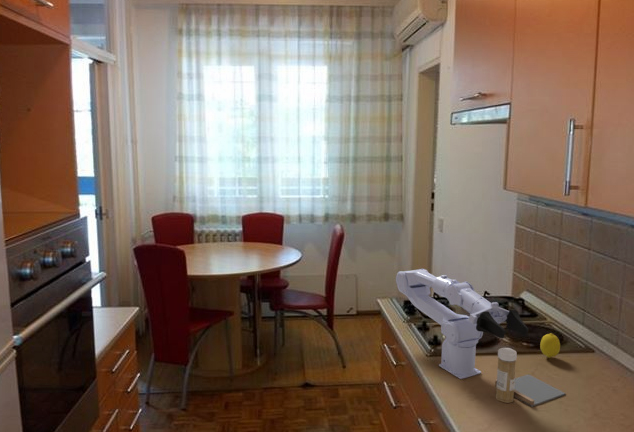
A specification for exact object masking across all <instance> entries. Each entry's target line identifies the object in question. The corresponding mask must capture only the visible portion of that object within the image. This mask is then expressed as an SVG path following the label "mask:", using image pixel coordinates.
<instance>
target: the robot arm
mask: <svg viewBox="0 0 634 432" xmlns="http://www.w3.org/2000/svg"><path fill="white" fill-rule="evenodd" d="M395 283H396V286H397V289H398V290H397V291H399V292H400V293H401V294H403V295H404V296H406V297H407V299H408V300H409V301H410V303H411V304H412V305H413V306H414V307H415V308H416V309H418V310H419V311H420V312H422V314H423V313H424V314H425V315H426V316H428V317H429V318H430V319H432V320H433V321H435V322H436V323H437V324H438V325H440V329H441V330H440V331H441V334H442V335H443V336H444V337H445V339H444V340H443V342H442V344H441V361H440V362H441V363H439V364H438V366H439V367H440V368H442V369H443V370H445V371H447V372H448V373H450V375H452V376H455V377H456V378H458V379H460V380H463V379H467V378H469V377H474V376H478V375H479V374H482V371H481V370H479V369H477V368H476V367H475V365H476V349H477V348H476V347H477V344H478V343H479V340H480V339H482V337H483V335H484V333H487V334H490V335H493V336H495V337H498V338H501V339H504V338H505V334H506V330H510V331H513V332H515V333H517V334H519V335H521V336H523V337H527V336H528V334H529V331H530V330H529V327H528V326H527V325H526V324H525V323H524V321H523V320H522V319H521V316H520V313H519V311H518V310H516V309H515V308H512V309H509V310H507V309H505V308H503V307H500V306H499V302H496V301H495V302H494V301H493V302H490V301H489V300H487V299H486V298H485V297H483V296H482V295H480V294H479V293H478V292H476V291H475V289H474V287H473V284H471V283H470V282H468V281H463V282H460V281H458V280H457V279H451V278H449V277H448V275H446V274H442V275H440V276H435V275H434V274H432V273H429V271H428V269H425V268H419V269H413V270H405V271H402V270H401V271H400V270H399V271H398V272H397V273H396V276H395ZM431 288H432V289H433V291H434V293H435V294H437V295H439V296H442V297H443V298H445V299H447V301H448V302H449V305H452V306H455V305H456V306H458V307H461V308H462V309H463V310H465V311H466V312H467V313H469V315H466V314H459V313H456V312H454V311H453V310H451V309H450V308H449V307H447V306H445V305H444V304H442V303H441V302H440V301H438V300H436V299H435V298H433V297H431V296H430V295H431ZM502 323H506V326H505V328H504V327H503V326H502V325H501V324H502Z"/></svg>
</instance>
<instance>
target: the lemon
mask: <svg viewBox="0 0 634 432" xmlns="http://www.w3.org/2000/svg"><path fill="white" fill-rule="evenodd" d="M539 345H540V346H539V347H540V351H541V353H542V354H543V355H544V356H546V357H547V358H548V359H551V358H553V357H556V356H557V355H559V352H560V350H561V343H560V339H559V337H558V336H557V335H555V334H554V333H552V332H550V333H547V334H545V335H543V336H542V337H541V339H540V344H539Z"/></svg>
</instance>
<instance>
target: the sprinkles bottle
mask: <svg viewBox="0 0 634 432" xmlns="http://www.w3.org/2000/svg"><path fill="white" fill-rule="evenodd" d="M517 355H518V354H517V351H516V350H515V349H512V348H510V347H501V348H499V349H498V350H497V357H498V358H497V360H498V361H497V369H496V370H497V371H496V372H497V373H496V381H497V387H496V391H495V392H496V393H495V399H496V400H497V401H499V402H501V403H506V404H507V403H512V402H514V398H515V397H513V396H514V381H515V378H516V363H517V362H516V361H517V357H518V356H517Z"/></svg>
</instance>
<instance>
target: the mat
mask: <svg viewBox="0 0 634 432" xmlns="http://www.w3.org/2000/svg"><path fill="white" fill-rule="evenodd" d="M494 386H495V387H496V388H497V380H495V385H494ZM563 396H566V392H564V391H562V390H560V389H559V388H556V387H554V386H552V385H550V384H549V383H546V382H544V381H543V380H540V379H539V378H536V377H535V376H533V375H531V374H525V375H522V376H519V377H515V381H514V396H513V397H514V398H515V399H517V400H519V401H521V402H522V403H524V404H525V405H527V406H529V407H531V408H532V407H535V406H538V405H541V404H544V403H546V402H548V401H551V400H552V401H553V400H555V399H558V398H560V397H563Z"/></svg>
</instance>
